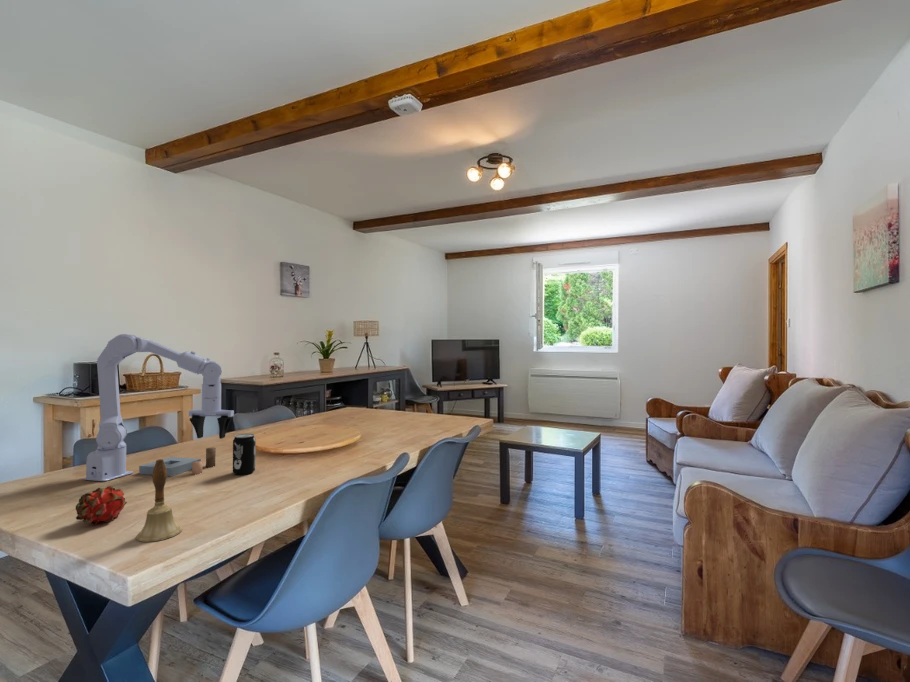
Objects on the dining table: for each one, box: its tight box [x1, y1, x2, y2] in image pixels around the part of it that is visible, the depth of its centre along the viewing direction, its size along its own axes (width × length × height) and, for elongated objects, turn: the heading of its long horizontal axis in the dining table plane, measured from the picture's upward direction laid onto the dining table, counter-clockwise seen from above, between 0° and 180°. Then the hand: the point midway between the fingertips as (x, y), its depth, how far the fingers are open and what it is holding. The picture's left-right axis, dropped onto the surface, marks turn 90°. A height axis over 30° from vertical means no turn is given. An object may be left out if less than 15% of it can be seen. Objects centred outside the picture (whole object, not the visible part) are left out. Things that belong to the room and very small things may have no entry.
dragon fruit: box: [75, 485, 128, 526], centre depth 105 cm, size 8×8×12 cm
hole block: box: [138, 456, 202, 477], centre depth 147 cm, size 12×12×2 cm
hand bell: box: [135, 458, 183, 543], centre depth 98 cm, size 8×8×16 cm
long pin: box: [205, 447, 217, 468], centre depth 152 cm, size 3×3×6 cm
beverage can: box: [232, 433, 257, 476], centre depth 145 cm, size 7×7×12 cm
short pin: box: [191, 460, 203, 475], centre depth 144 cm, size 3×3×4 cm
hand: (211, 437), depth 153 cm, fingers open, 7 cm apart
